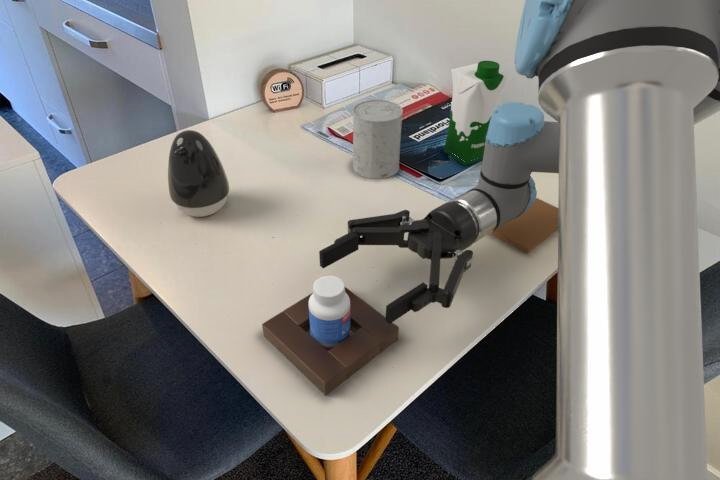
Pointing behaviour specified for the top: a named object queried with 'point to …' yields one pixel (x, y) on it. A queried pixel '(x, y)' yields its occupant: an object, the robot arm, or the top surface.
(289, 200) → the top surface
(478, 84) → the milk carton
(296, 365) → the socket base
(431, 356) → the top surface
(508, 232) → the cork pad
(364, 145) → the concrete cylinder
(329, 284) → the pill bottle
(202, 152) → the black egg-shaped figure
